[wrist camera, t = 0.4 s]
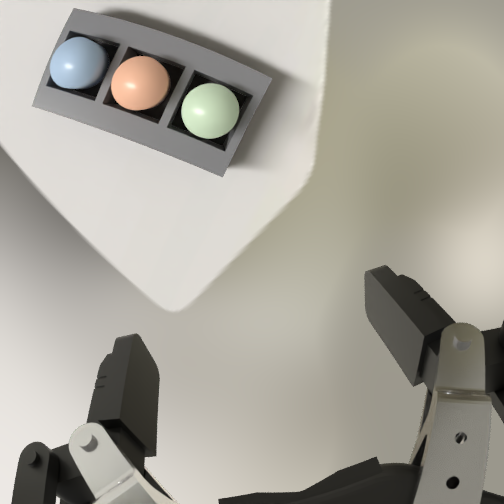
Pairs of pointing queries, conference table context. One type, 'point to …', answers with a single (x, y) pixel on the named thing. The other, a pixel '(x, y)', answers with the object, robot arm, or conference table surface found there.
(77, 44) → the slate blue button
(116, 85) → the orange button
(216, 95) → the sage button
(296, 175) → the conference table surface
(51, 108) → the tray
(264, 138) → the conference table surface
